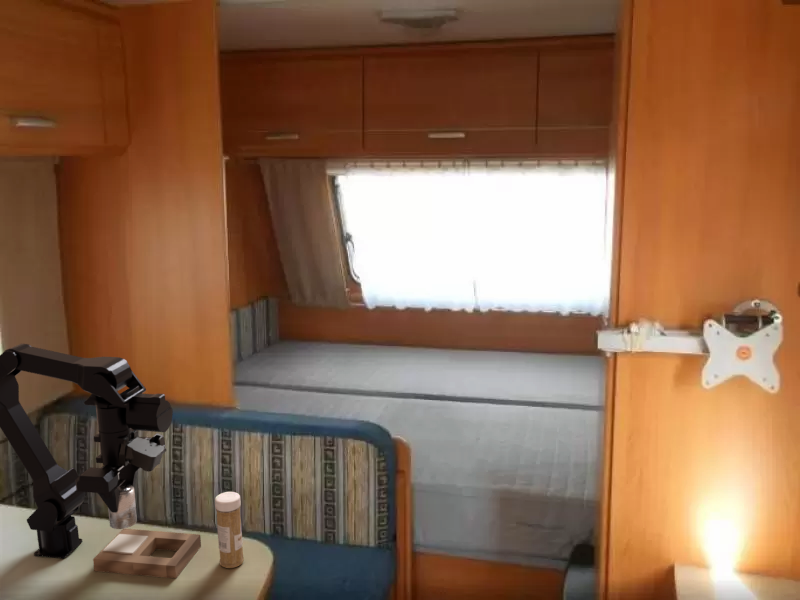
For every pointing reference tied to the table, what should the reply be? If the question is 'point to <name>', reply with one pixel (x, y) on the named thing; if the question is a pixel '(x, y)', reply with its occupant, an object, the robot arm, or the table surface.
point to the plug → (124, 508)
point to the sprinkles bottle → (229, 529)
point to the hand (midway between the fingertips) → (121, 505)
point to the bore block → (147, 553)
